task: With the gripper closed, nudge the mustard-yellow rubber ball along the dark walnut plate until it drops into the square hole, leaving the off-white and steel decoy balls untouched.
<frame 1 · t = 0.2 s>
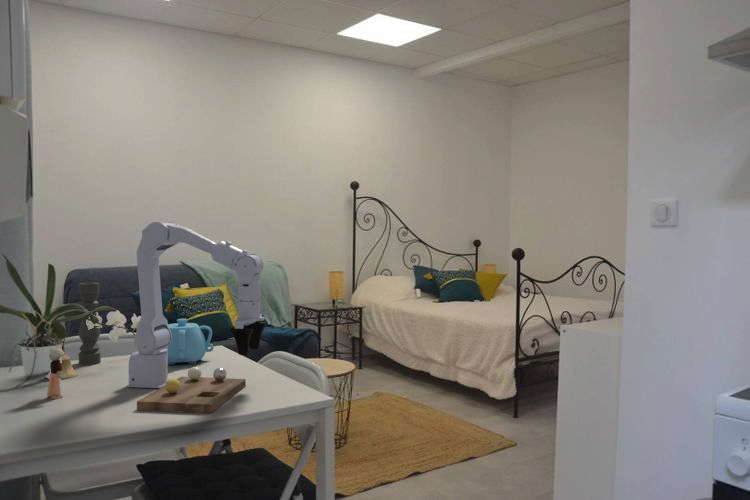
hand: (248, 351, 158), 10 cm above the table, tool pointing down, fingers open, 7 cm apart
hole plate: (195, 397, 150), on the table
candle holder: (89, 363, 187), on the table
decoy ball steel: (219, 374, 158), point 4 cm above the table, touching hole plate
grandmother figurine: (55, 398, 149), on the table
decorative pot: (182, 362, 191), on the table
hand bell: (61, 377, 170), on the table
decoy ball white: (194, 373, 159), point 4 cm above the table, touching hole plate
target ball: (172, 385, 146), point 4 cm above the table, touching hole plate
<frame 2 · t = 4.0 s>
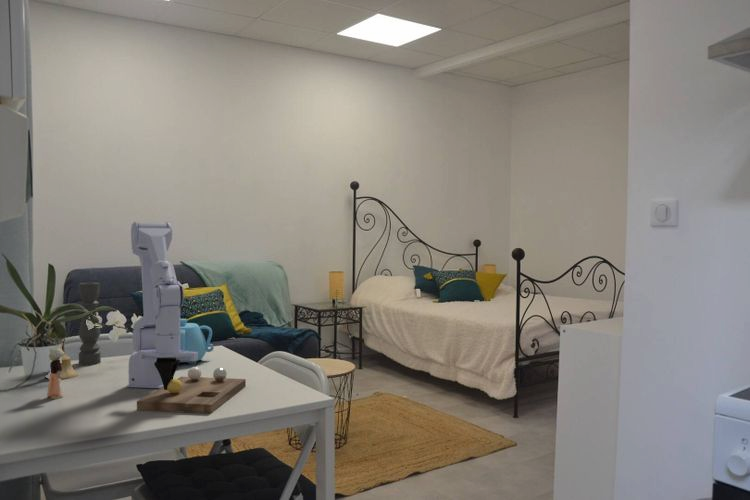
hand: (167, 388, 146), 3 cm above the table, tool pointing down, fingers closed, pressing on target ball
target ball: (174, 386, 146), point 4 cm above the table, tilted 15°, touching gripper, hole plate
everything else where it was.
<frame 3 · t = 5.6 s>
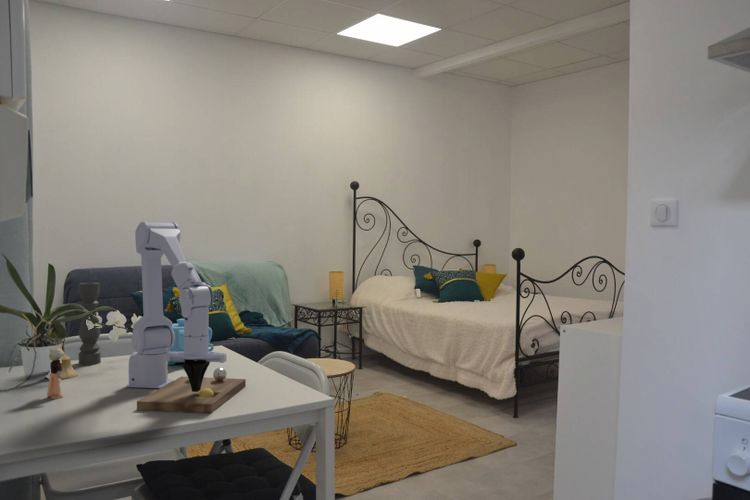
hand: (196, 390, 146), 3 cm above the table, tool pointing down, fingers closed
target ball: (206, 395, 145), point 2 cm above the table, tilted 67°
everything else where it was.
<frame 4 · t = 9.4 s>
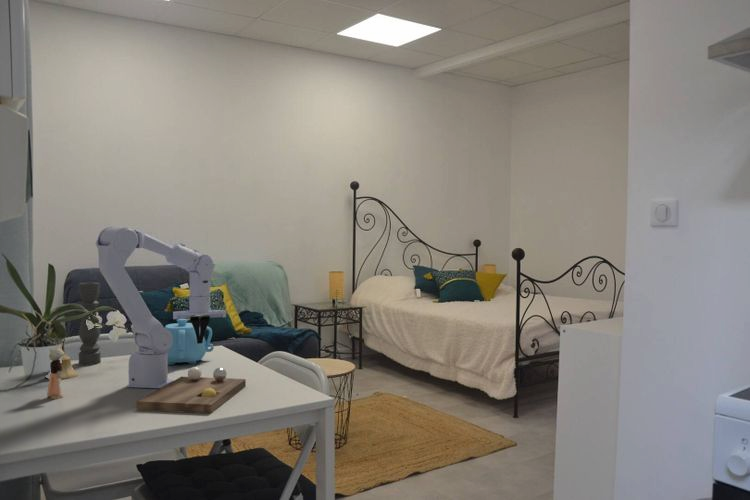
hand: (199, 342, 172), 9 cm above the table, tool pointing down, fingers closed
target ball: (208, 395, 146), point 2 cm above the table, tilted 47°
everything else where it was.
at the end: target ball 0.1 cm from the target spot on the hole plate, point 1.7 cm above the hole plate's base; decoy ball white moved 0.0 cm from its start; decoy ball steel moved 0.0 cm from its start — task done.
